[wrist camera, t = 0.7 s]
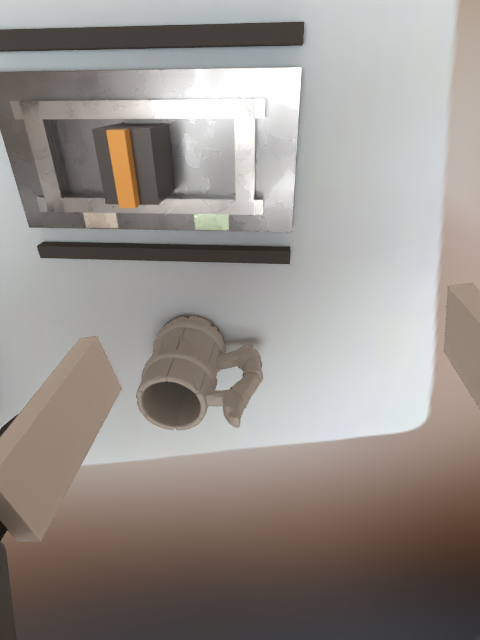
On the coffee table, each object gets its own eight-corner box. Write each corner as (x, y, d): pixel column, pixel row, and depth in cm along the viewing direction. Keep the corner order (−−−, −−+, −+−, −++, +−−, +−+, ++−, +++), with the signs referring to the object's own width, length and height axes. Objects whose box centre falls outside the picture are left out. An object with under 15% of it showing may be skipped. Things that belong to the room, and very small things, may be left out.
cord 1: (46, 253, 38) (40, 257, 37) (43, 241, 38) (36, 246, 37) (289, 259, 36) (289, 263, 35) (290, 246, 36) (290, 251, 35)
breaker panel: (38, 222, 37) (19, 232, 34) (-5, 73, 30) (-32, 71, 28) (291, 226, 35) (292, 238, 32) (300, 68, 28) (302, 66, 26)
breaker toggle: (128, 189, 33) (100, 207, 27) (118, 123, 30) (85, 130, 25) (174, 189, 32) (154, 208, 27) (168, 123, 30) (145, 130, 25)
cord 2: (-11, 51, 30) (-21, 50, 29) (-16, 32, 29) (-27, 30, 28) (302, 45, 28) (302, 43, 27) (303, 24, 27) (304, 21, 26)
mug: (151, 313, 41) (108, 388, 31) (262, 309, 39) (256, 387, 29) (165, 370, 45) (131, 454, 34) (266, 368, 43) (262, 455, 33)
